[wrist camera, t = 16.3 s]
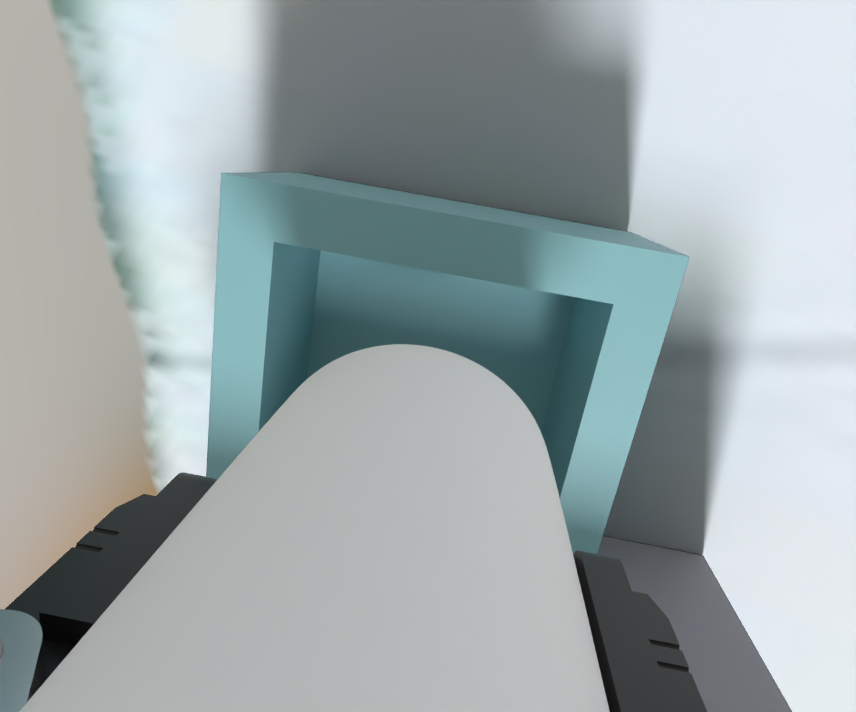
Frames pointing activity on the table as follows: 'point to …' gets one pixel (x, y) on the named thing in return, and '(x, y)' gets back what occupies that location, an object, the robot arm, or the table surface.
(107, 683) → the can
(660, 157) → the table surface
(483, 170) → the table surface
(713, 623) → the wall board
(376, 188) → the socket block
